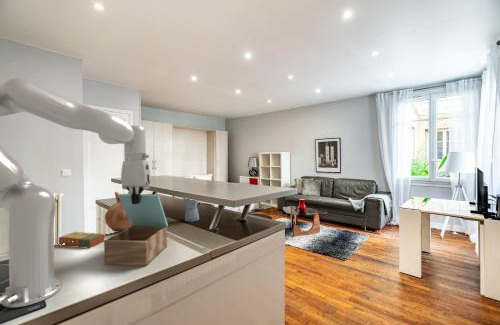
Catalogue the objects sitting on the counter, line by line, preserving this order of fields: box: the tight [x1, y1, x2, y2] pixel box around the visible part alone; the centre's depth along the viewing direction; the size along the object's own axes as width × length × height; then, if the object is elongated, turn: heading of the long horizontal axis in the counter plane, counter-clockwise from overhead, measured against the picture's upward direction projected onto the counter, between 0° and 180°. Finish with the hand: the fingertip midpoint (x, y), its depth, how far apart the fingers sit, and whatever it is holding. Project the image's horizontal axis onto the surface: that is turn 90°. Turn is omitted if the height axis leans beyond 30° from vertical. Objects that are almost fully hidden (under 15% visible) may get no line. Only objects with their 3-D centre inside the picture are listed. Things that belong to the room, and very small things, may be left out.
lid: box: [118, 193, 169, 228], centre depth 99 cm, size 18×17×2 cm
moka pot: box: [182, 197, 201, 223], centre depth 146 cm, size 10×15×20 cm, turn 145°
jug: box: [104, 191, 131, 233], centre depth 128 cm, size 18×18×20 cm
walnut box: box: [103, 226, 168, 267], centre depth 94 cm, size 18×16×9 cm
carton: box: [58, 231, 105, 249], centre depth 106 cm, size 8×16×4 cm, turn 81°
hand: (136, 203), depth 92 cm, fingers closed
